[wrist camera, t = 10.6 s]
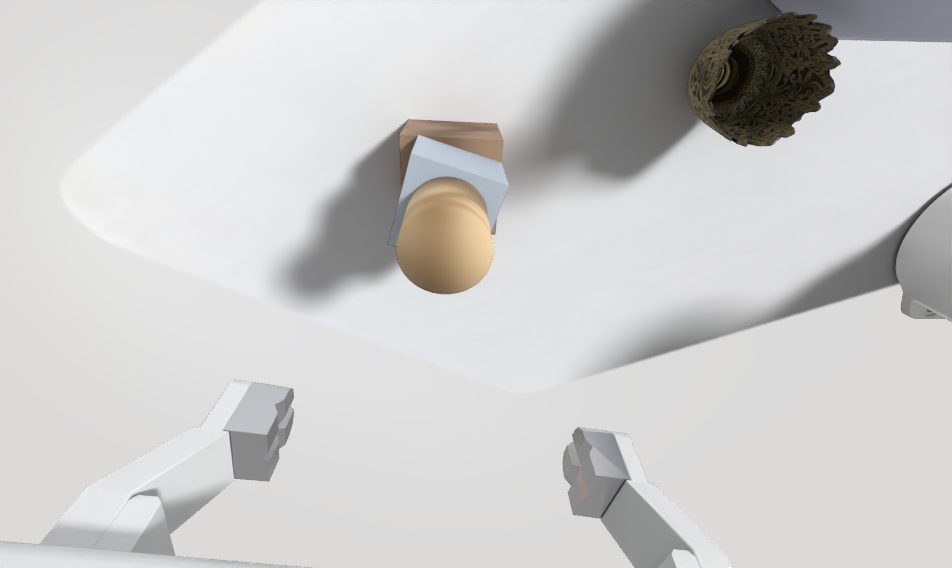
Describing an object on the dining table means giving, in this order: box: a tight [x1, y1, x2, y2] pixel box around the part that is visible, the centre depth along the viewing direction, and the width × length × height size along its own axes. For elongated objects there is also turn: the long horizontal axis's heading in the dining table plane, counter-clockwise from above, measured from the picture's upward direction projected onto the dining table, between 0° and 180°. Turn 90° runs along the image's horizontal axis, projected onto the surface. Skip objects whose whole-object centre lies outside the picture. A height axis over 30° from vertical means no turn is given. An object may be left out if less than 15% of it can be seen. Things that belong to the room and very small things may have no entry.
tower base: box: [399, 119, 503, 235], centre depth 33 cm, size 7×7×6 cm
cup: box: [687, 12, 841, 147], centre depth 29 cm, size 8×7×8 cm
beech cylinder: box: [396, 177, 493, 294], centre depth 24 cm, size 5×5×5 cm
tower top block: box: [388, 135, 509, 246], centre depth 28 cm, size 6×6×5 cm
